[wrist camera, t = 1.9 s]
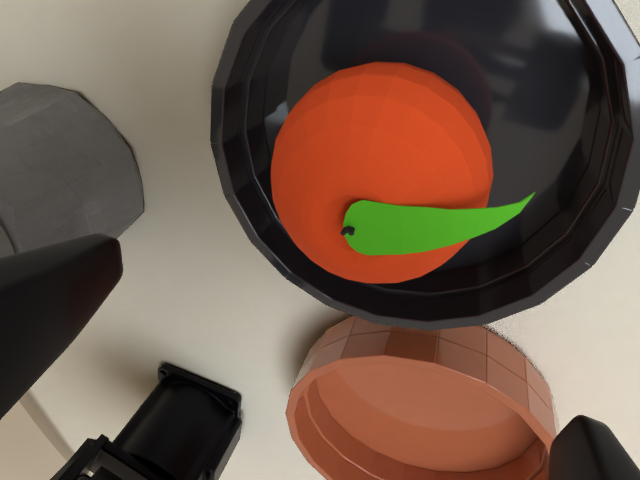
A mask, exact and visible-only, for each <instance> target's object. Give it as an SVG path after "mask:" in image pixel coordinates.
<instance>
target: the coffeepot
mask: <svg viewBox="0 0 640 480" xmlns="http://www.w3.org/2000/svg"><path fill="white" fill-rule="evenodd" d="M143 212H144V209H143V191H142V182H141V177H140V174H139V170H138V167H137V164H136V162H135V160H134V158H133V155H132V153H131V150H130V149H129V147H128V145H127V144H126V142H125V141H124V139H123V138H122V136H121V135H120V133H119V132H118V131H117V130H116V129H115V127H114V126H113V125H112V124H111V122H110V121H109V120H108V119H107V118H106V117H105V116H104V115H103V114H102V113H101V112H99V111H98V110H97V109H96V108H95V107H94V106H92V105H91V104H90V103H88V102H87V101H85V100H84V99H83V98H81V97H80V96H79V95H78V93H77V92H73V91H69V90H65V89H62V88H58V87H55V86H45V85H31V84H26V83H20V82H18V83H16V84H14V85H12V86H10V87H8V88H6V89H4V90H2V91H0V258H2V257H6V256H9V255H13V254H17V253H21V252H25V251H29V250H33V249H36V248H40V247H44V246H48V245H52V244H56V243H60V242H63V241H67V240H71V239H75V238H79V237H83V236H86V235H90V234H94V233H102V234H105V235H108V236H110V237H113V238H116V239H117V238H118V237H119V236H120V235H121V234H122V233H123V232H124V231H125V230H126V229H127V228H128V227H129V226H130V225H132V224H133V222H134V221H135V220H136V219H137V218H138V217H139V216H140V215H141V214H142V213H143Z"/></svg>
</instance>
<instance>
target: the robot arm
mask: <svg viewBox="0 0 640 480" xmlns="http://www.w3.org/2000/svg"><path fill="white" fill-rule="evenodd" d="M122 274H123V264H122V255H121V247H120V243H119V241H118V240H117V239H116V238H113V237H110V236H108V235H105V234H102V233H94V234H90V235H86V236H83V237H79V238H75V239H71V240H67V241H63V242H60V243H56V244H52V245H48V246H44V247H40V248H36V249H33V250H29V251H25V252H21V253H17V254H13V255H9V256H6V257H2V258H0V420H1V418H2V417H3V416H4V415H5V414H6V413H7V412H8V411H9V410H10V409H11V408H12V407H13V405H14V404H15V403H16V402H17V401H18V400H19V399H20V398H21V397H22V396H23V395H24V394H25V393H26V392H27V390H28V389H29V388H30V387H31V386H32V385H33V384H34V383H35V382H36V381H37V380H38V379H39V378H40V376H41V375H42V374H43V373H44V372H45V371H46V370H47V369H48V368H49V367H50V366H51V365H52V364H53V362H54V361H55V360H56V359H57V358H58V357H59V356H60V355H61V354H62V353H63V352H64V351H65V350H66V348H67V347H68V346H69V345H70V344H71V343H72V342H73V341H74V339H75V338H76V337H77V336H78V334H79V333H80V332H81V331H82V329H83V328H84V327H85V326H86V324H87V323H88V322H89V320H90V319H91V318H92V316H93V315H94V314H95V312H96V311H97V310H98V308H99V307H100V306H101V304H102V303H103V302H104V300H105V299H106V298H107V297H108V295H109V294H110V293H111V291H112V290H113V289H114V287H115V286H116V285H117V283H118V282H119V280H120V279H121V277H122ZM158 378H159V384H158V385H157V386H156V387H155V389H154V390H153V391H152V392H151V394H150V395H149V396H148V398H147V399H146V400H145V401H144V403H143V404H142V405H141V406H140V408H139V409H138V410H137V412H136V413H135V414H134V415H133V417H132V418H131V419H130V421H129V422H128V423H127V424H126V426H125V427H124V428H123V429H122V431H121V432H120V433H119V435H118V436H117V437H116V438H115V440H114V441H113V442H111V441H109V440H108V439H109V438H107V437H106V436H104V435H103V434H101V435H100V437H99V438H98V439H96V440H95V439H90V438H87V440H86V441H85V442H84V443H83V444H82V446H81V447H80V448H79V449H78V450H77V451H76V453H75V454H74V455H73V456H72V457H71V458H70V460H69V461H68V462H67V463H66V464H65V465H64V466H63V467H62V468H61V469H60V470H59V471H58V472H57V473H56V474H55V475H54V476H53V477H52V478H51V479H50V480H218V479H219V478H220V476H221V474H222V472H223V470H224V468H225V466H226V464H227V462H228V460H229V458H230V457H231V455H232V453H233V451H234V449H235V447H236V445H237V443H238V441H239V439H240V433H241V425H242V421H241V418H239V415H240V406H241V398H240V396H239V395H238V394H236V393H234V392H231V391H229V390H227V389H224V388H222V387H220V386H217V385H215V384H212V383H210V382H208V381H205V380H203V379H201V378H198V377H196V376H194V375H191V374H189V373H186V372H184V371H182V370H179V369H177V368H175V367H172V366H170V365H168V364H162V365H161V366H160V367H159V368H158ZM89 471H91V472H93V473H94V474H93V476H92V477H89V476H88V475H87V474H88V472H89ZM548 480H640V470H639V469H638V467H637V466H636V465H635V463H634V462H633V460H632V459H631V458H630V456H629V455H628V453H627V452H626V451H625V449H624V448H623V446H622V445H621V444H620V442H619V441H618V439H617V438H616V437H615V435H614V434H613V433H612V431H611V430H610V429H609V427H608V426H607V425H605V424H604V423H602V422H600V421H597V420H594V419H592V418H589V417H586V416H584V415H578V416H576V417H574V418H573V419H572V420H571V421H570V422H569V423H568V424H567V425H566V427H565V428H564V429H563V430H562V431H561V432H560V433H559V434H558V435H557V436H556V437H555V438H554V440H553V442H552V444H551V448H550V456H549V472H548Z"/></svg>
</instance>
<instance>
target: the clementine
mask: <svg viewBox="0 0 640 480" xmlns="http://www.w3.org/2000/svg"><path fill="white" fill-rule="evenodd" d="M492 180H493V167H492V155H491V146H490V144H489V142H488V139H487V137H486V134H485V132H484V129H483V127H482V124H481V122H480V119H479V117H478V115H477V113H476V111H475V110H474V109H473V108H472V106H471V105H470V104H469V103H468V101H467V100H466V99H465V98H464V96H463V95H462V94H461V93H460V91H459V90H458V89H457V88H455V87H454V86H452V85H451V84H449V83H448V82H447V81H445V80H444V79H442V78H441V77H439V76H438V75H436V74H435V73H434V72H431V71H428V70H425V69H422V68H419V67H416V66H413V65H410V64H407V63H397V62H372V63H367V64H363V65H359V66H355V67H351V68H347V69H343V70H339V71H337V72H335V73H334V74H332V75H330V76H329V77H327V78H325V79H323V80H322V81H320V82H318V83H316V84H315V85H314V86H313V87H312V88H311V89H310V90H309V91H308V92H307V93H306V94H305V95H304V96H303V97H302V98H301V99H300V100H299V101H298V103H297V104H296V105H295V106H294V107H293V109H292V110H291V111H290V113H289V114H288V116H287V118H286V120H285V122H284V124H283V126H282V128H281V130H280V132H279V134H278V136H277V138H276V141H275V146H274V152H273V157H272V163H271V186H272V198H273V202H274V205H275V208H276V210H277V213H278V216H279V219H280V221H281V223H282V225H283V226H284V228H285V229H286V231H287V233H288V234H289V236H290V237H291V239H292V240H293V242H294V243H295V244H296V246H297V247H298V248H299V249H300V250H301V251H302V252H303V253H304V254H305V255H306V256H307V257H308V258H309V259H310V260H311V261H313V262H314V263H316V264H317V265H319V266H320V267H322V268H323V269H325V270H326V271H328V272H330V273H333V274H335V275H338V276H340V277H342V278H345V279H348V280H353V281H358V282H364V283H399V282H403V281H406V280H410V279H414V278H418V277H421V276H423V275H425V274H427V273H428V272H430V271H432V270H434V269H436V268H438V267H439V266H441V265H442V264H444V263H445V262H446V261H448V260H449V259H450V258H451V257H452V256H453V255H454V254H456V253H457V252H458V251H459V250H460V249H461V248H462V247H463V246H464V245H465V244H466V243H467V242H468V241H469V240H470V239H471V238H474V237H477V236H479V235H481V234H484V233H486V232H489V231H491V230H494V229H496V228H498V227H499V226H501V225H502V224H504V223H505V222H507V221H508V220H510V219H511V218H513V217H514V216H516V215H517V214H519V213H520V212H521V210H522V209H523V208H524V207H525V205H526V204H527V203H528V202H529V200H530V199H531V198H532V197H533V195H534V194H535V193H536V192H533V193H532V194H530V195H529V196H527V197H526V198H524V199H523V200H521V201H520V202H517V203H513V204H508V205H504V206H499V207H490V208H486V206H487V203H488V198H489V194H490V189H491V185H492Z"/></svg>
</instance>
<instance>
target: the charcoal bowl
mask: <svg viewBox="0 0 640 480" xmlns="http://www.w3.org/2000/svg"><path fill="white" fill-rule="evenodd" d="M372 62H397V63H407V64H410V65H413V66H416V67H419V68H422V69H425V70H428V71H431V72H434V73H435V74H436V75H438V76H439V77H441V78H442V79H444V80H445V81H447V82H448V83H449V84H451V85H452V86H454V87H455V88H457V89H458V90H459V91H460V93H461V94H462V95H463V96H464V98H465V99H466V100H467V101H468V103H469V104H470V105H471V106H472V108H473V109H474V110H475V111H476V113H477V115H478V117H479V119H480V122H481V124H482V127H483V129H484V132H485V134H486V137H487V139H488V142H489V144H490V146H491V155H492V167H493V180H492V185H491V189H490V194H489V198H488V203H487V206H486V208H490V207H499V206H504V205H508V204H513V203H517V202H520V201H521V200H523V199H524V198H526V197H527V196H529V195H530V194H532V193H533V192H536V193H535V194H534V195H533V197H532V198H531V199H530V200H529V202H528V203H527V204H526V205H525V207H524V208H523V209H522V210H521V212H520V213H519V214H517V215H516V216H514V217H513V218H511V219H510V220H508V221H507V222H505V223H504V224H502V225H501V226H499V227H498V228H496V229H494V230H491V231H489V232H486V233H484V234H481V235H479V236H477V237H474V238H471V239H470V240H469V241H468V242H467V243H466V244H465V245H464V246H463V247H462V248H461V249H460V250H459V251H458V252H457V253H456V254H454V255H453V256H452V257H451V258H450V259H449V260H448V261H446V262H445V263H444V264H442V265H441V266H439V267H438V268H436V269H434V270H432V271H430V272H428V273H427V274H425V275H423V276H421V277H418V278H414V279H410V280H406V281H403V282H399V283H364V282H358V281H353V280H348V279H345V278H342V277H340V276H338V275H335V274H333V273H330V272H328V271H326V270H325V269H323V268H322V267H320V266H319V265H317V264H316V263H314V262H313V261H311V260H310V259H309V258H308V257H307V256H306V255H305V254H304V253H303V252H302V251H301V250H300V249H299V248H298V247H297V246H296V244H295V243H294V242H293V240H292V239H291V237H290V236H289V234H288V233H287V231H286V229H285V228H284V226H283V225H282V223H281V221H280V219H279V216H278V213H277V210H276V208H275V205H274V202H273V198H272V186H271V163H272V157H273V152H274V146H275V141H276V138H277V136H278V134H279V132H280V130H281V128H282V126H283V124H284V122H285V120H286V118H287V116H288V114H289V113H290V111H291V110H292V109H293V107H294V106H295V105H296V104H297V103H298V101H299V100H300V99H301V98H302V97H303V96H304V95H305V94H306V93H307V92H308V91H309V90H310V89H311V88H312V87H313V86H314V85H315V84H316V83H318V82H320V81H322V80H323V79H325V78H327V77H329V76H330V75H332V74H334V73H335V72H337V71H339V70H343V69H347V68H351V67H355V66H359V65H363V64H367V63H372ZM212 83H213V84H212V97H211V137H210V142H211V147H212V151H213V154H214V158H215V162H216V166H217V170H218V174H219V177H220V181H221V185H222V189H223V193H224V195H225V198H226V200H227V201H228V203H229V205H230V207H231V208H232V210H233V212H234V214H235V215H236V217H237V219H238V221H239V223H240V224H241V226H242V228H243V230H244V231H245V233H246V235H247V237H248V238H249V240H251V243H252V244H253V245H254V246H255V247H256V248H257V249H258V250H259V251H260V252H261V253H262V254H263V255H264V256H265V257H266V258H267V260H268V261H269V262H270V263H271V264H272V265H273V266H274V267H275V268H276V269H277V270H278V271H279V272H280V273H281V274H282V275H283V276H284V277H286V279H287V280H289V281H290V282H292V283H293V284H295V285H296V286H298V287H299V288H301V289H302V290H304V291H305V292H307V293H308V294H310V295H312V296H313V297H315V298H316V299H318V300H319V301H321V302H322V303H324V304H325V305H328V306H329V307H332V308H334V309H337V310H340V311H342V312H345V313H348V314H351V315H353V316H356V317H359V318H361V319H364V320H367V321H369V322H372V323H376V324H380V325H388V326H396V327H403V328H411V329H418V330H426V331H428V330H429V331H432V330H441V329H451V328H461V327H470V326H480V325H484V324H485V325H486V324H489V323H491V322H494V321H497V320H500V319H502V318H505V317H508V316H510V315H513V314H516V313H518V312H521V311H524V310H527V309H529V308H532V307H535V306H537V305H540V303H543V302H545V301H546V300H547V299H549V298H550V297H551V296H553V295H554V294H556V293H557V292H558V291H560V290H561V289H562V288H564V287H565V286H566V285H568V284H569V283H571V282H572V281H573V280H575V279H576V278H577V277H579V276H580V275H582V274H583V273H584V272H586V271H587V270H588V269H590V268H591V267H592V265H594V264H595V263H596V261H597V260H598V259H599V257H600V256H601V255H602V253H603V252H604V250H605V249H606V248H607V246H608V245H609V244H610V242H611V241H612V239H613V238H614V237H615V235H616V234H617V233H618V231H619V230H620V228H621V227H622V226H623V224H624V223H625V222H626V220H627V219H628V217H629V216H630V215H631V213H632V212H633V209H634V208H635V206H636V202H637V199H638V195H639V192H640V43H639V41H638V40H637V38H636V36H635V35H634V33H633V31H632V30H631V28H630V26H629V25H628V23H627V21H626V20H625V18H624V16H623V15H622V13H621V11H620V9H619V8H618V6H617V4H616V3H615V1H614V0H250V1H249V2H248V3H247V5H246V6H245V7H244V8H243V10H242V11H241V12H240V14H239V15H238V16H237V17H236V19H235V20H234V23H233V24H232V27H231V30H230V33H229V36H228V38H227V41H226V44H225V47H224V50H223V53H222V56H221V59H220V62H219V65H218V68H217V70H216V73H215V76H214V79H213V82H212Z"/></svg>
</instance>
